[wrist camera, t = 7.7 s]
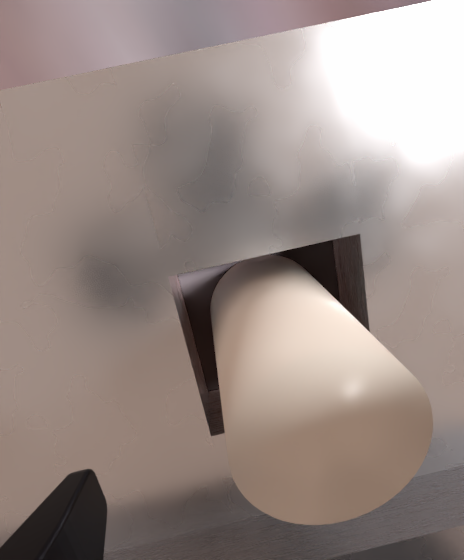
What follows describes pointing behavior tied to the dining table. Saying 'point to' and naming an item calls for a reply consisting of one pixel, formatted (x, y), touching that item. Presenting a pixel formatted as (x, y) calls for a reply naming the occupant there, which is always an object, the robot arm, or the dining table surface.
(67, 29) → the dining table surface
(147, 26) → the dining table surface
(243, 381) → the cream domed knob
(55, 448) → the jig
